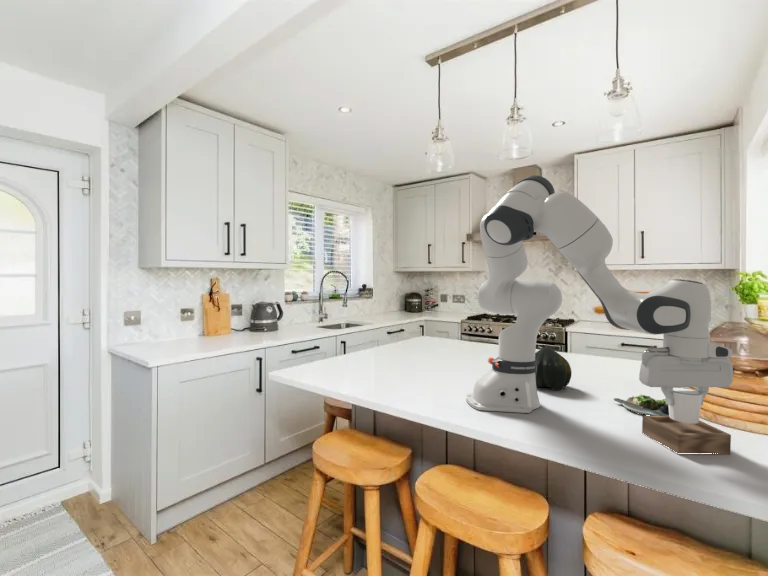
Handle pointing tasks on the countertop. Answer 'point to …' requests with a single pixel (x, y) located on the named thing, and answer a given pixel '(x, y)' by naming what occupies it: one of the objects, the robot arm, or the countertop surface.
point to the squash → (552, 369)
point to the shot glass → (685, 405)
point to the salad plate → (645, 405)
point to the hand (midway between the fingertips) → (684, 404)
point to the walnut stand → (686, 435)
